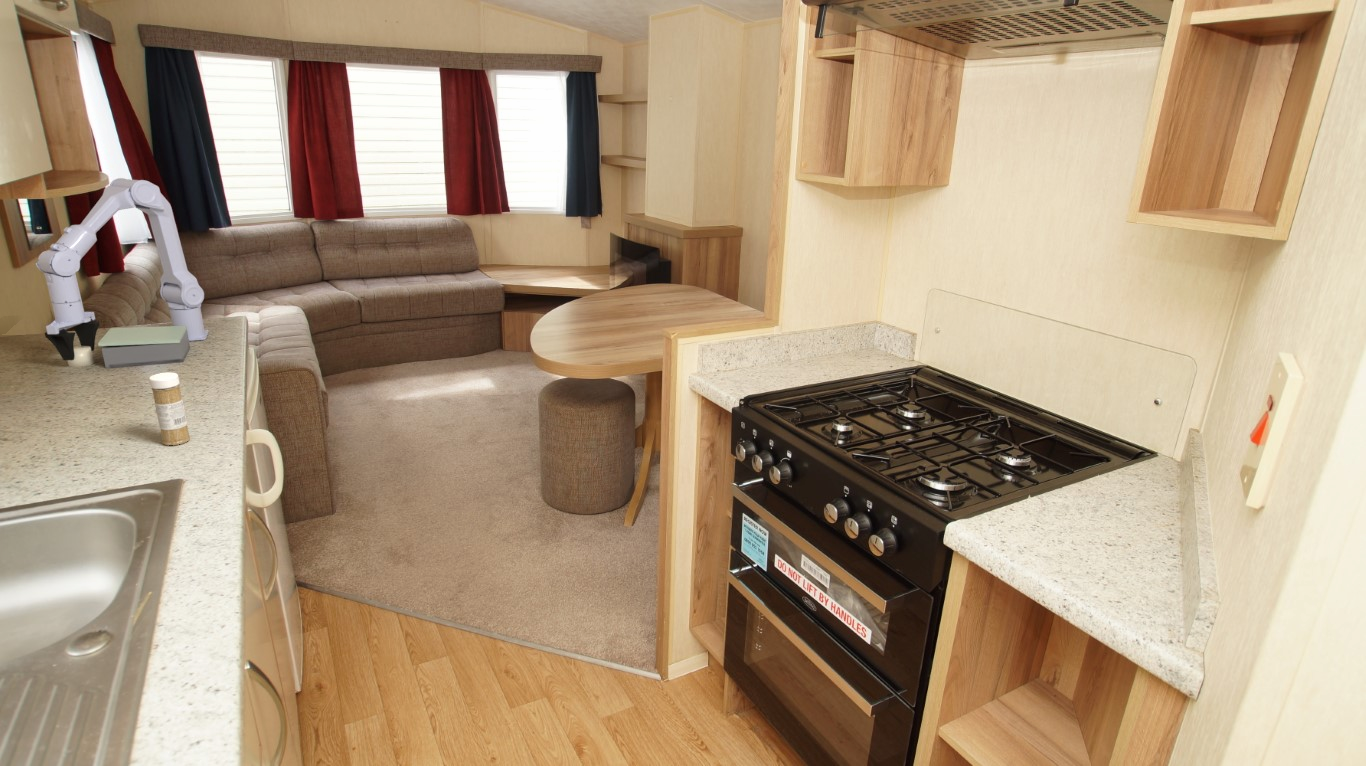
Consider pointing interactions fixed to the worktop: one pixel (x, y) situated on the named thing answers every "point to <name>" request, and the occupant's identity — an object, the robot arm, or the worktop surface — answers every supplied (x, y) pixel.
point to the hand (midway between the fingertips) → (79, 355)
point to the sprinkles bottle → (169, 408)
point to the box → (145, 353)
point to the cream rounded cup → (81, 357)
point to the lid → (143, 335)
